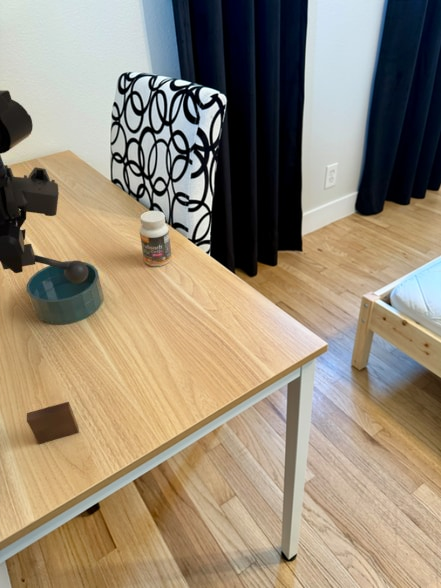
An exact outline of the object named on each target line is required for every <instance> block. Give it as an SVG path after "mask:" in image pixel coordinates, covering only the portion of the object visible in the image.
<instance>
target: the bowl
mask: <svg viewBox="0 0 441 588" xmlns="http://www.w3.org/2000/svg"><path fill="white" fill-rule="evenodd" d="M71 261H72V260H66V261H64V262H65V263H69V262H71ZM82 262H83V263H84V264H85V265H86V266H87V268H88V276H87V278H86V279H85V280H84V281H83V282H81V283H72V282H70V281H69V280H68V279H67V278H66V277H65V273H64V270H65V269H62V268H58V267H54V266H50V265H47V266H45V267H43V268H42V269H40V270H37V271H36V272H35V273H34V274H33V275H32V276H31V277H30V278H29V279H28V281H27V283H26V289H25V292H26V293H27V296H28V299H29V302H30V304H31V307H32V310H33V312H34V313H35V315H36V317H37V318H38V319H39V320H40V321H42V322H44V323H47V324H49V325H69V324H73V323H77V322H80V321H82V320H85V319H87V318H89V317H91V316H92V315H94V314H95V313H96V312H97V311H98V310H99V309H100V308H101V306H102V305H103V302H104V290H103V287H102V283H101V279H100V274H99V271H98V269H97V268H96V267H95V266H94V265H93V264H92V263H89V262H86V261H82Z"/></svg>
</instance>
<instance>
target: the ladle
mask: <svg viewBox="0 0 441 588" xmlns="http://www.w3.org/2000/svg"><path fill="white" fill-rule="evenodd" d="M34 251H35V250H34V248H33V245H32V243H24V253H23V254H22V255H21V261H22V268H23V267H28V266H34V265H36V263H38V264H41V265H47V266H54V267H58V268H62V269H65V270H64V273H65V277H66V278H67V279H68V280H69V281H70V282H72V283H81V282H83V281H84V280H85V279H86V278H87V276H88V268H87V266H86V265H85V264H84V263H83V262H84V261H82V260H77V259H75V260H70V261H71V262H69V263H65V261H60V260H57V259H53V258H49V257H45V256H42V255H37V254H35V252H34ZM0 263H1V262H0ZM1 266H2V269H3V270H4V271H6V270H10V269H9V268H8V267H7V266H5V265H4V264H3V263H1Z"/></svg>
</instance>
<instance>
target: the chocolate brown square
mask: <svg viewBox="0 0 441 588" xmlns="http://www.w3.org/2000/svg"><path fill="white" fill-rule="evenodd" d="M26 422H27V424H28V426H29V428H30V430H31V432H32V434H33V436H34V438H35V440H36V442H37V444H38V445H41V444H44V443H48V442H51V441H55V440H59V439H62V438H65V437H69V436H71V435H76V434H78V433H80V432H79V431H80V430H79V424H78V421H77V419H76V417H75V414H74V411H73V409H72V406H71V403H70V401H66V402H63V403H58V404H55V405H51V406H48V407H44V408H40V409H36V410H32V411H29V412H27V413H26Z"/></svg>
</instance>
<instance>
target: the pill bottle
mask: <svg viewBox="0 0 441 588" xmlns="http://www.w3.org/2000/svg"><path fill="white" fill-rule="evenodd" d="M139 220H140V224H141V225H140V227H139V236H140V243H141V251H142V258H143V261H144V263H145V264H146V265H148V266H151V267H161V266H165V265H167V264H169V262H170V261H171V260H172V247H171V246H172V245H171V237H170V229H169V226H168V224H166V216H165V213H164V212H162V211H160V210H149V211H146V212H143V213H142V214H141V215H140V218H139Z"/></svg>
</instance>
